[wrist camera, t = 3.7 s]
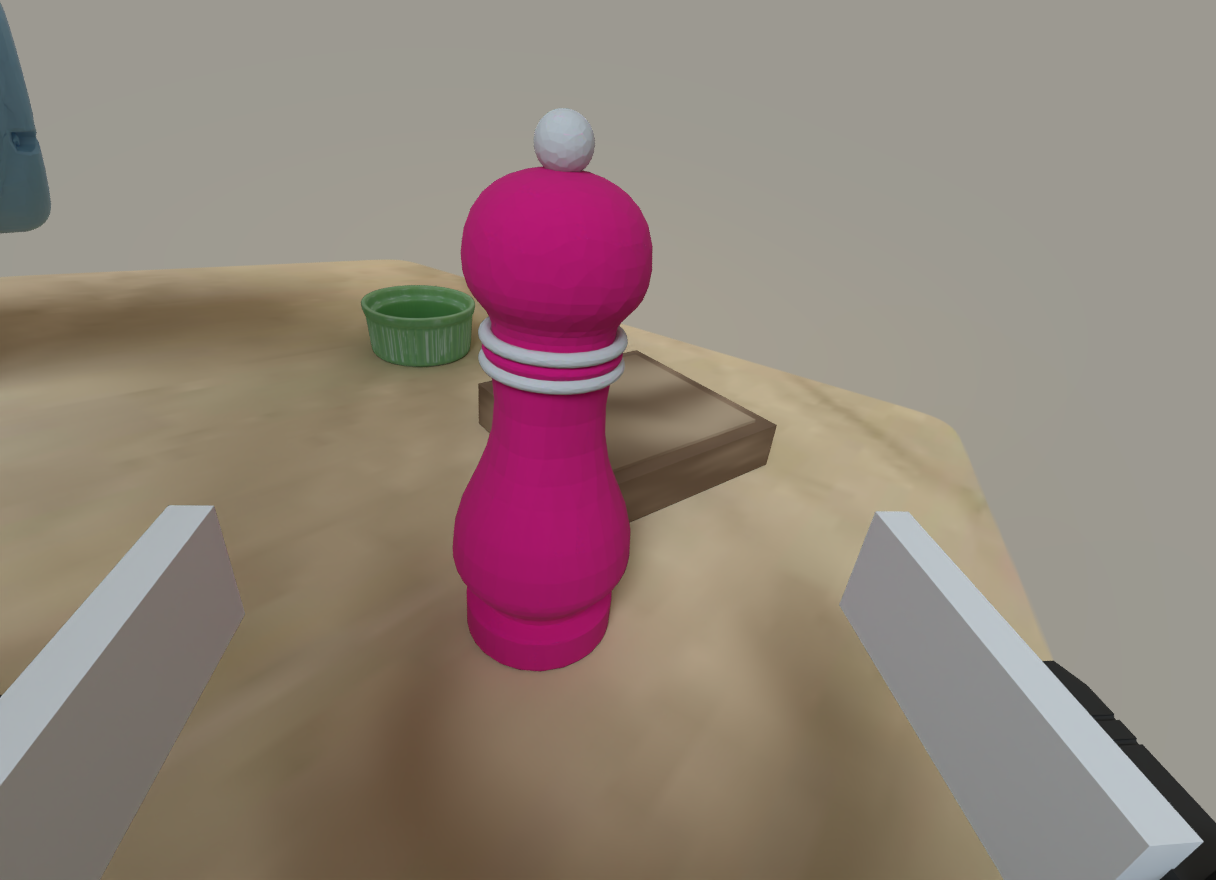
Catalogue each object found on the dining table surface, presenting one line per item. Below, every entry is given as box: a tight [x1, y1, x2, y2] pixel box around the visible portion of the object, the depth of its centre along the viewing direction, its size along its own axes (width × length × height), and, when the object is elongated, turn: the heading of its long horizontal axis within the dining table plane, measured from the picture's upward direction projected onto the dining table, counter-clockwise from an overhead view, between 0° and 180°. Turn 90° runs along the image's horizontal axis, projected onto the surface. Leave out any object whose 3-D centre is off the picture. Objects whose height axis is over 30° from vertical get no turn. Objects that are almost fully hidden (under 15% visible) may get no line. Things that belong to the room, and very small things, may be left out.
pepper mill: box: [453, 108, 652, 671], centre depth 22 cm, size 7×7×20 cm
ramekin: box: [361, 285, 475, 367], centre depth 51 cm, size 9×9×4 cm
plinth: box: [478, 350, 777, 522], centre depth 40 cm, size 14×14×3 cm
